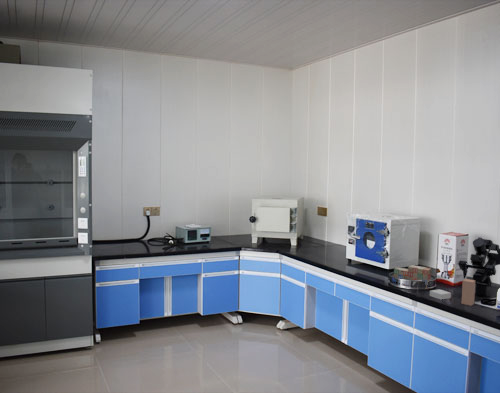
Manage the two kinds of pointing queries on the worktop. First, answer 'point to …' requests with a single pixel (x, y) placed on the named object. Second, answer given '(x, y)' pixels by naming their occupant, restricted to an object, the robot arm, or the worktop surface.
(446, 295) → the plinth block
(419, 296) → the worktop surface
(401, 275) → the stack of blocks
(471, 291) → the terracotta block
